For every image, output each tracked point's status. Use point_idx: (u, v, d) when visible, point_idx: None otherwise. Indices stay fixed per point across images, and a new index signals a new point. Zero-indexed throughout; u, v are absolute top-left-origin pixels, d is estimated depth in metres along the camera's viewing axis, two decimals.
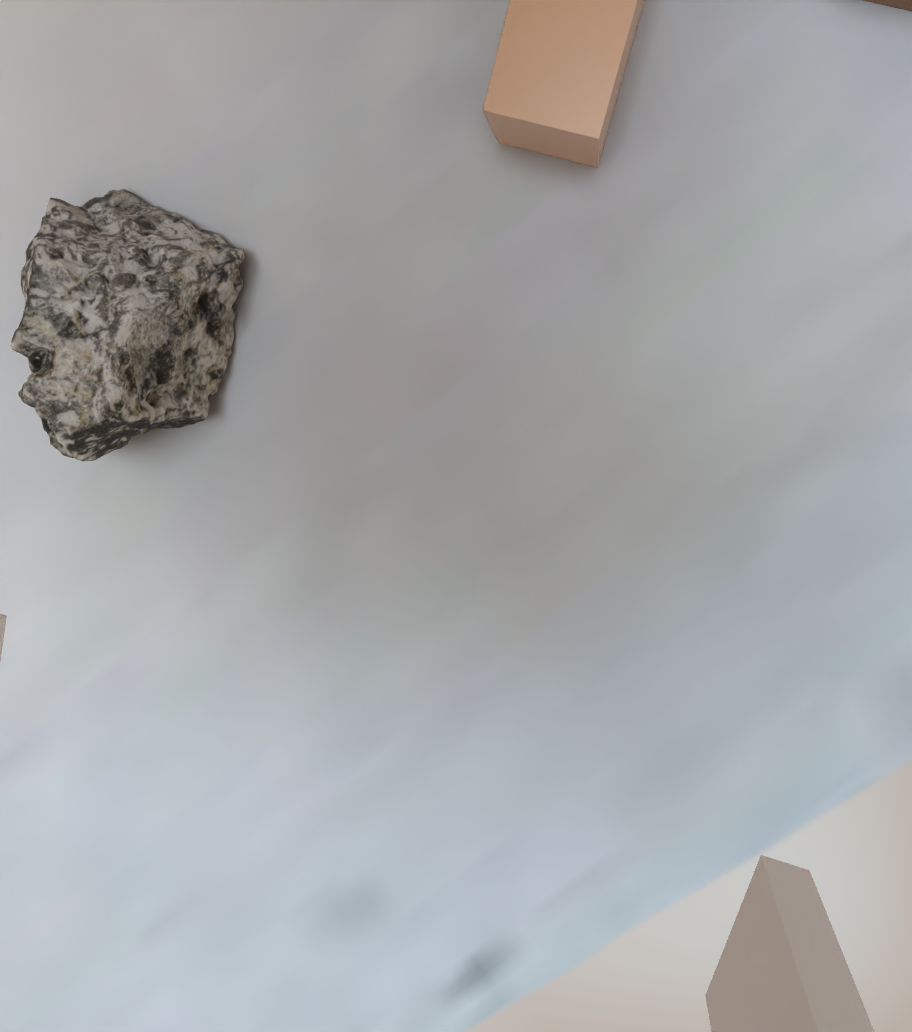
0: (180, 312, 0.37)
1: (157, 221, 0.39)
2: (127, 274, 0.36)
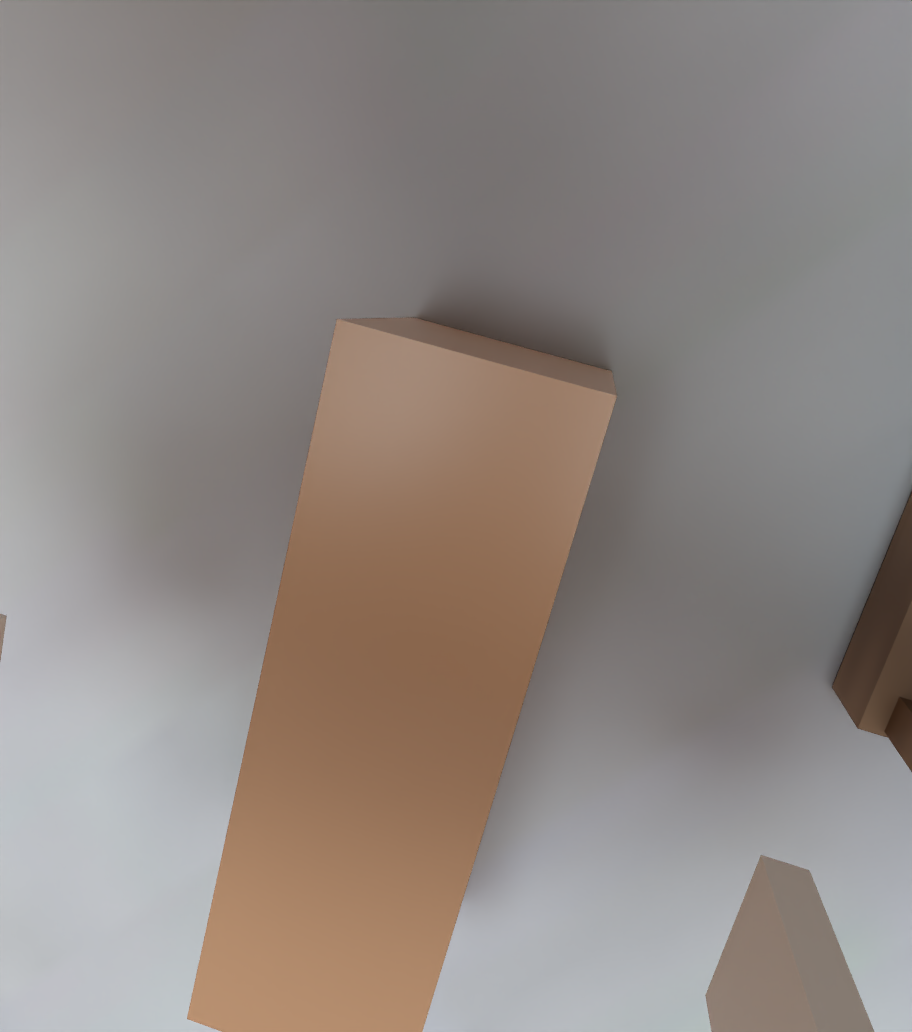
0: None
1: None
2: None
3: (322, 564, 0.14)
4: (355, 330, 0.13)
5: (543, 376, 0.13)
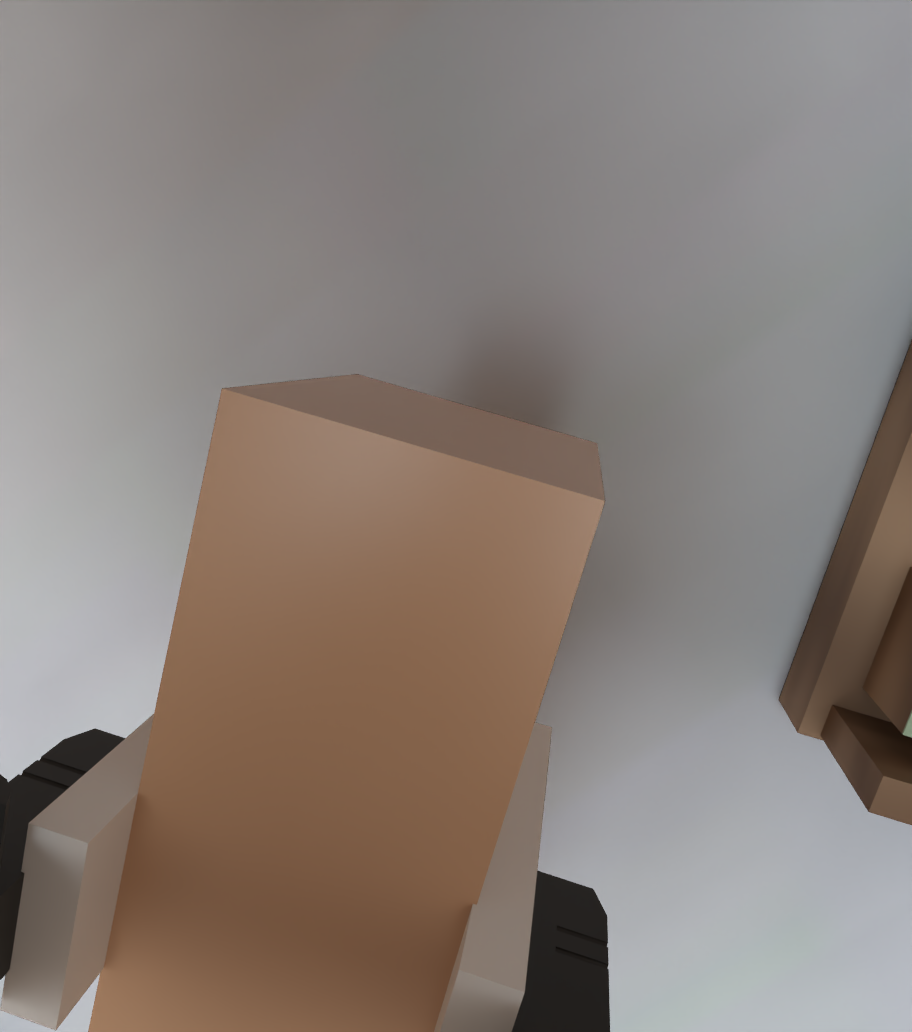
0: None
1: None
2: None
3: (204, 717, 0.11)
4: (246, 404, 0.10)
5: (503, 472, 0.09)
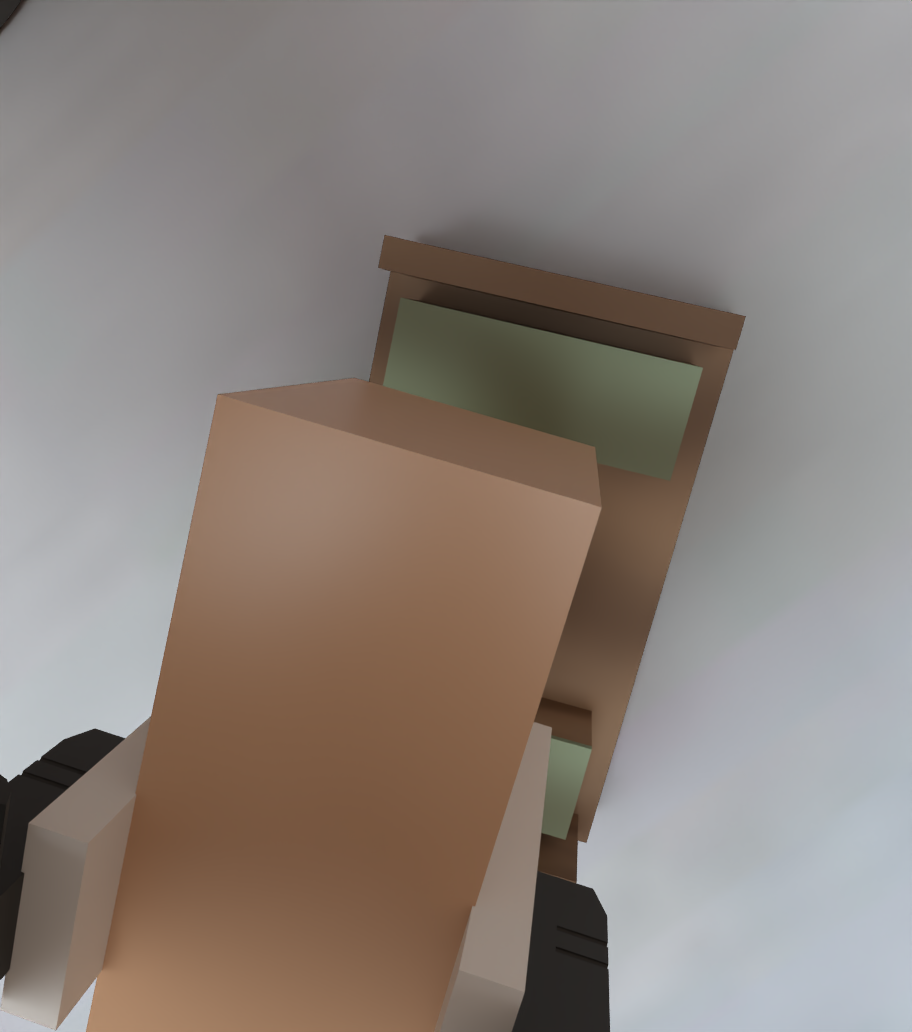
0: None
1: None
2: None
3: (201, 723, 0.11)
4: (242, 410, 0.10)
5: (500, 478, 0.09)
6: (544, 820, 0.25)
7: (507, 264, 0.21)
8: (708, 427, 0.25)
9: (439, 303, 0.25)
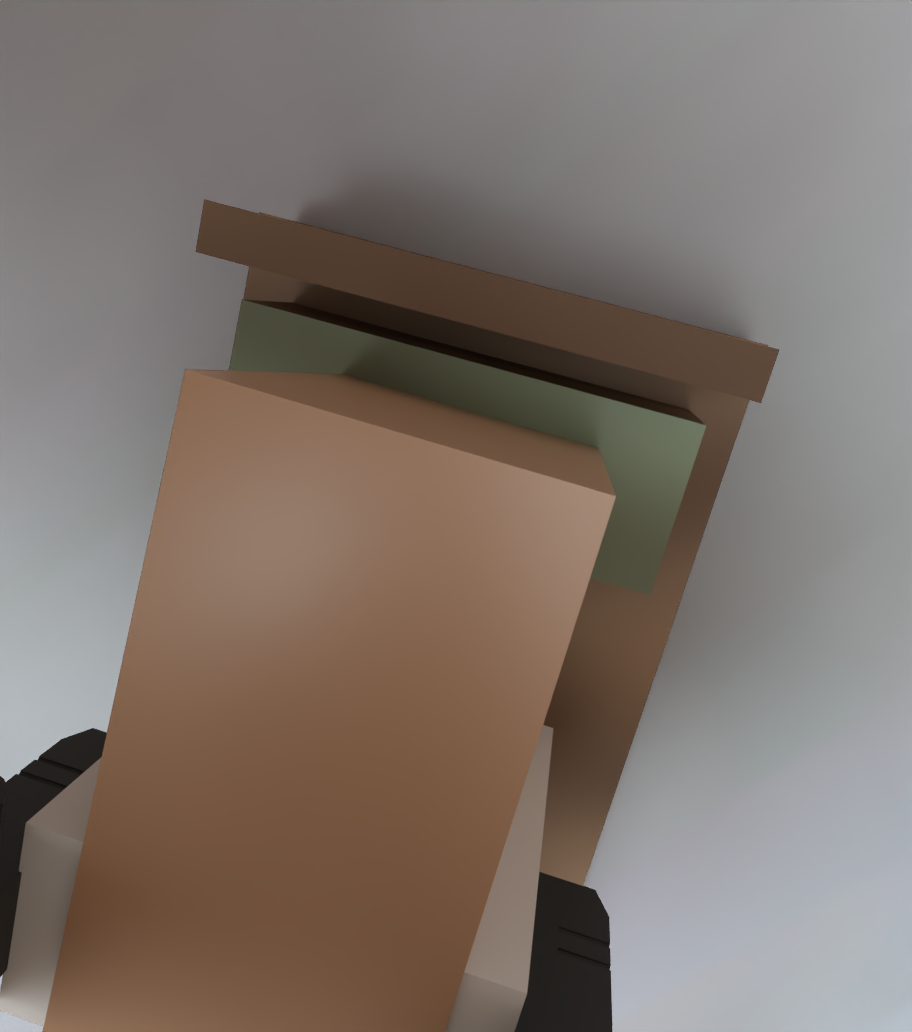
0: None
1: None
2: None
3: (163, 742, 0.09)
4: (213, 387, 0.09)
5: (501, 463, 0.08)
6: None
7: (397, 252, 0.13)
8: (710, 503, 0.17)
9: (321, 308, 0.17)
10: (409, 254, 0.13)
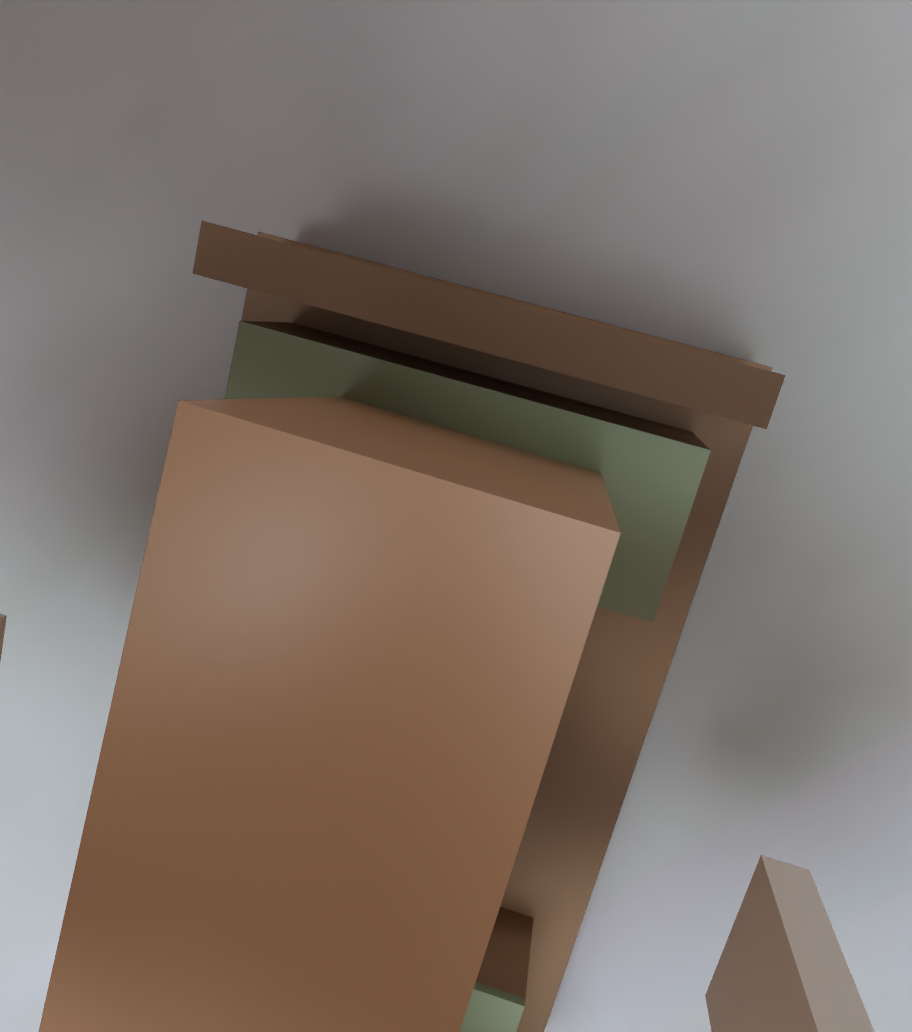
0: None
1: None
2: None
3: (154, 781, 0.09)
4: (206, 419, 0.08)
5: (502, 498, 0.08)
6: None
7: (397, 275, 0.13)
8: (714, 527, 0.16)
9: (320, 328, 0.17)
10: (409, 277, 0.13)
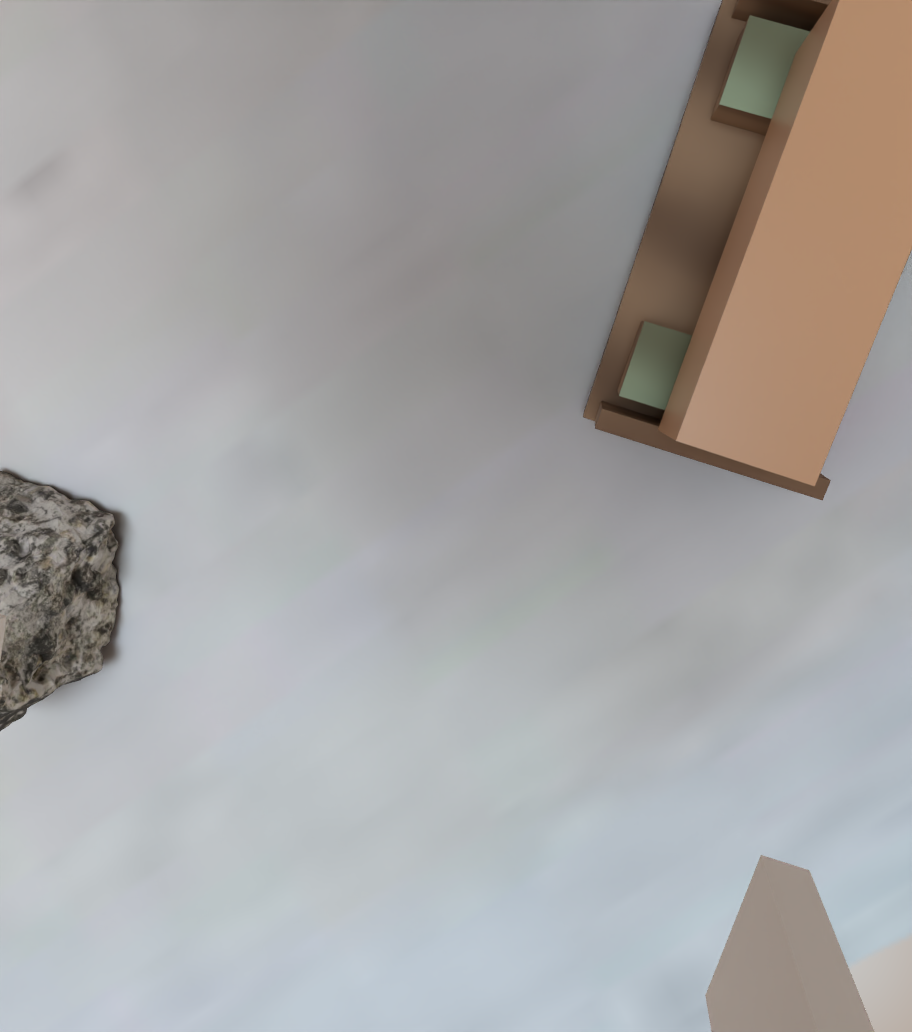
0: (52, 597, 0.40)
1: (29, 501, 0.42)
2: None
3: (817, 123, 0.25)
4: None
5: None
6: None
7: None
8: None
9: None
10: None
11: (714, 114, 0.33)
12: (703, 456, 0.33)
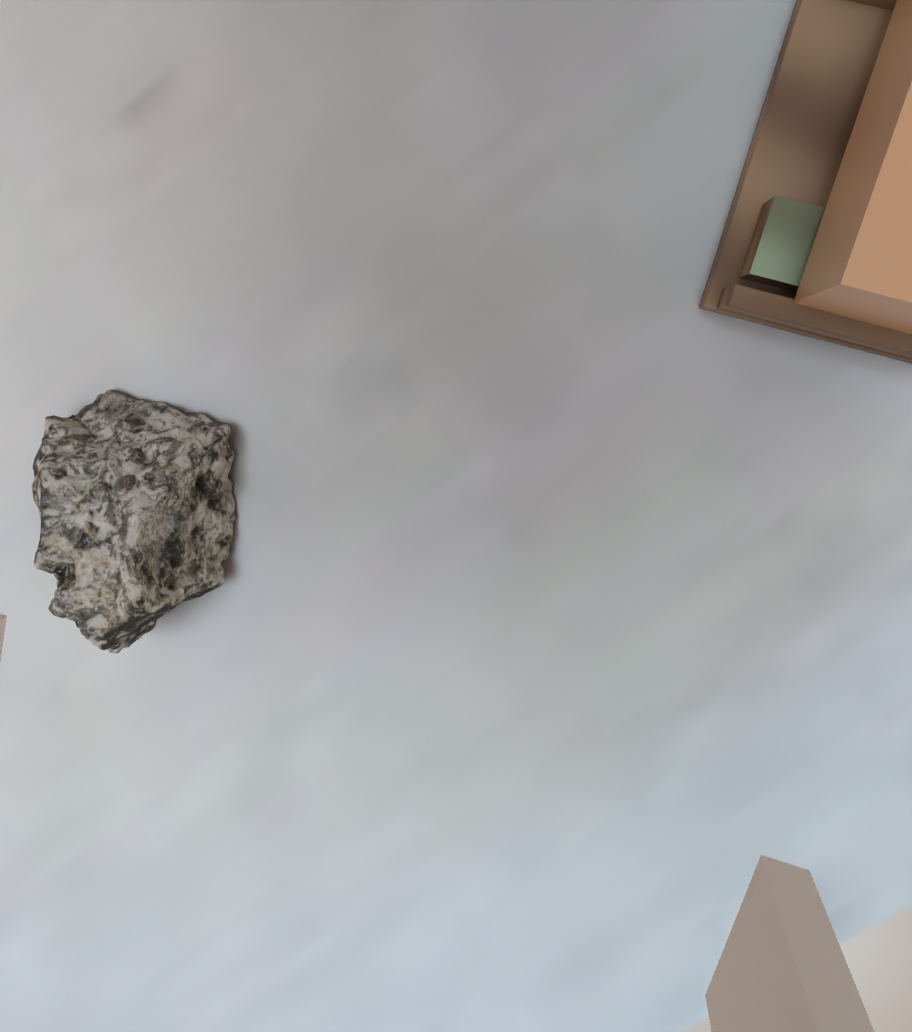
0: (181, 500, 0.40)
1: (145, 415, 0.42)
2: (127, 476, 0.39)
3: None
4: None
5: None
6: None
7: None
8: None
9: None
10: None
11: None
12: (840, 327, 0.33)
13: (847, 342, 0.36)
